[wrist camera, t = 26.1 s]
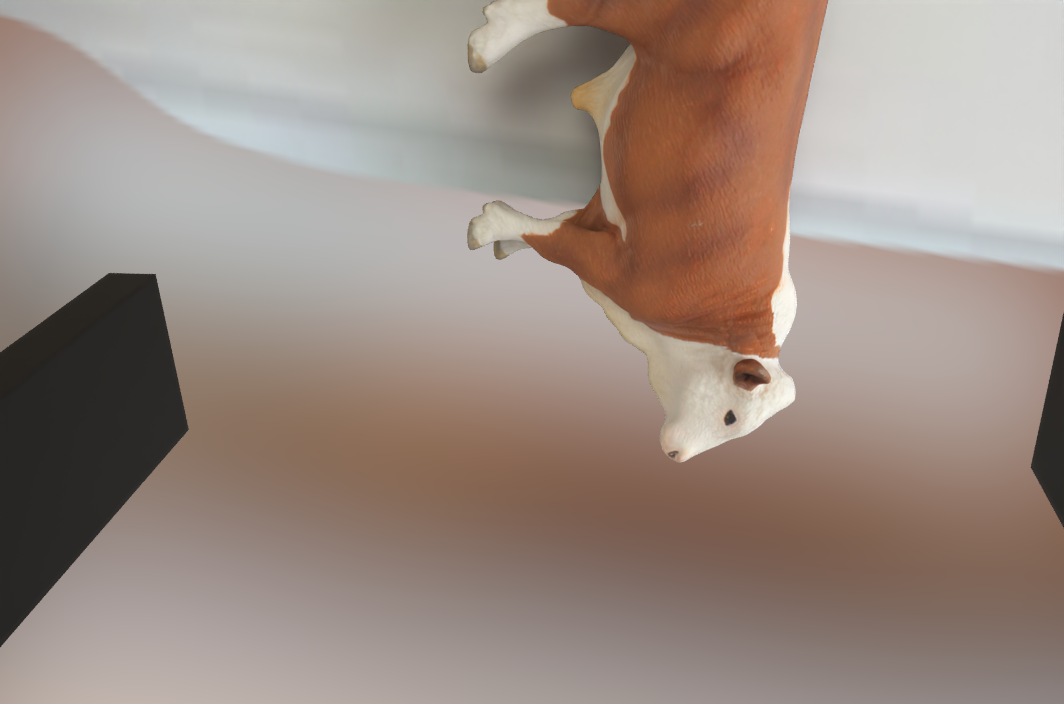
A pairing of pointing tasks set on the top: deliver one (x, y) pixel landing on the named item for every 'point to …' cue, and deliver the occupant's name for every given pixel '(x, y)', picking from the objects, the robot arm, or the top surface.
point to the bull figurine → (681, 194)
